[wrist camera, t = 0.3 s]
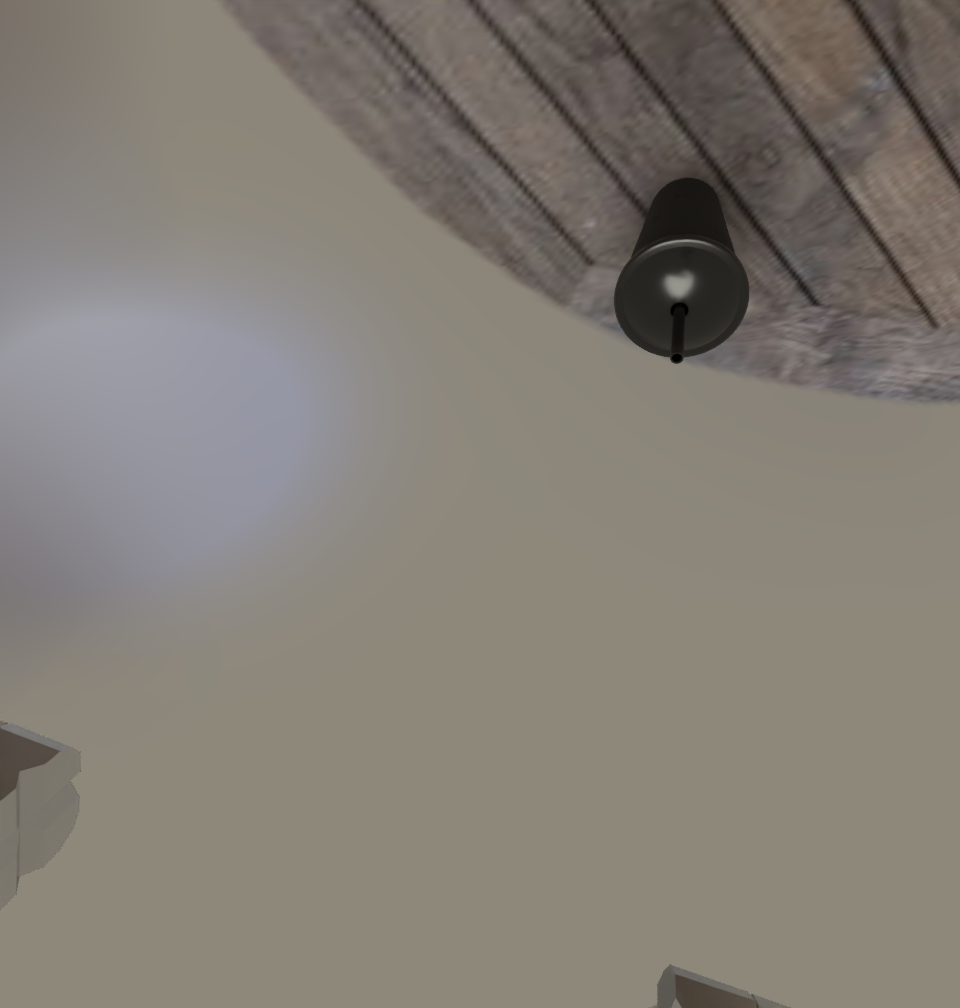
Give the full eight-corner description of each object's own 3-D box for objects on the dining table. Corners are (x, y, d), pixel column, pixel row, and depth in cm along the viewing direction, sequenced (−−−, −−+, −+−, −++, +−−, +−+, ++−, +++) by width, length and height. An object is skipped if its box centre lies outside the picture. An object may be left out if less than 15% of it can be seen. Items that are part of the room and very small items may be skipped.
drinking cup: (764, 188, 51) (787, 334, 36) (699, 280, 56) (697, 438, 42) (667, 135, 50) (652, 263, 36) (611, 233, 55) (578, 379, 41)
